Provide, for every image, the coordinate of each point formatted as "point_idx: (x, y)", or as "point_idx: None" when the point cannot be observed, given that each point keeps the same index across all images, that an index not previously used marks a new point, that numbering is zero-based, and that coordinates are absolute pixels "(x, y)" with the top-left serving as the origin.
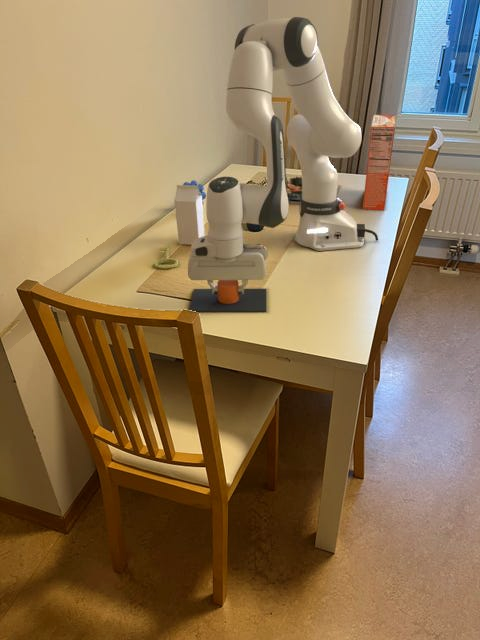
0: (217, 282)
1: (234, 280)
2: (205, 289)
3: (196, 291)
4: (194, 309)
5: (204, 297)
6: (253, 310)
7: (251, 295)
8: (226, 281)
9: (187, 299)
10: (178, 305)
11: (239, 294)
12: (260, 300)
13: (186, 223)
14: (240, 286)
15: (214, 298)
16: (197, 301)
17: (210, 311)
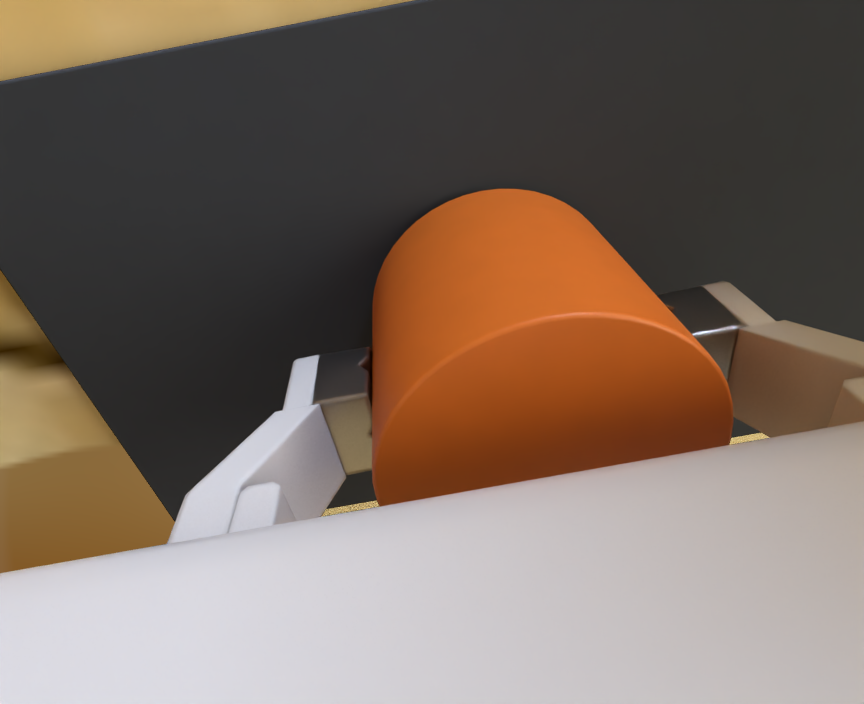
0: (379, 505)
1: (670, 402)
2: (76, 93)
3: None
4: None
5: (195, 315)
6: (740, 433)
7: (774, 160)
8: (526, 451)
9: (11, 349)
10: (12, 459)
11: (618, 164)
12: (854, 261)
13: None
14: (719, 356)
15: (323, 314)
16: (164, 399)
17: (367, 498)
